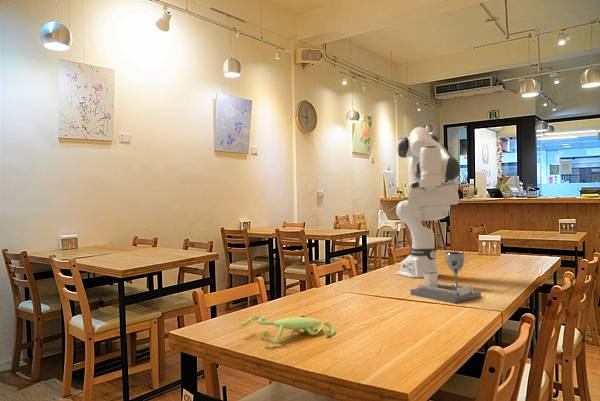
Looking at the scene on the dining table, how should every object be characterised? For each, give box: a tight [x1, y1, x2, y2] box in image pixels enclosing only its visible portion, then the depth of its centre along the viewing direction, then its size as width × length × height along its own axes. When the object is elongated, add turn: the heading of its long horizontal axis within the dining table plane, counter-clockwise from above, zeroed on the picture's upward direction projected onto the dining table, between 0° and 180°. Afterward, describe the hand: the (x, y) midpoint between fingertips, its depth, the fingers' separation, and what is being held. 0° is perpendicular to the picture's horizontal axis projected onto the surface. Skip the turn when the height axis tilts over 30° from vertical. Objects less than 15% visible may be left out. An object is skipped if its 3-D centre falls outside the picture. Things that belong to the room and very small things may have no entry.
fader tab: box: [423, 271, 439, 288], centre depth 187 cm, size 3×5×7 cm, turn 124°
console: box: [410, 283, 482, 304], centre depth 181 cm, size 22×16×5 cm
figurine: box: [240, 315, 336, 347], centre depth 138 cm, size 18×27×6 cm
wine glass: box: [445, 251, 466, 287], centre depth 198 cm, size 8×8×15 cm
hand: (433, 217), depth 182 cm, fingers open, 8 cm apart
